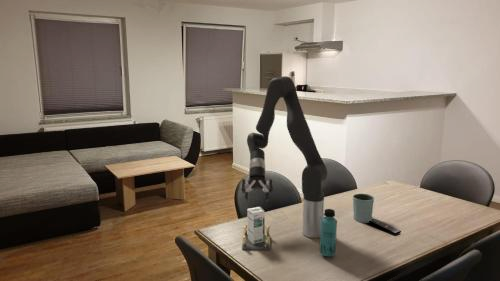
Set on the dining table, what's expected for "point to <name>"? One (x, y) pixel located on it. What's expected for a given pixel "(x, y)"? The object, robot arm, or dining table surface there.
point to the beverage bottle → (328, 233)
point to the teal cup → (363, 207)
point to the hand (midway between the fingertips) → (257, 201)
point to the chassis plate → (257, 246)
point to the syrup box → (256, 225)
